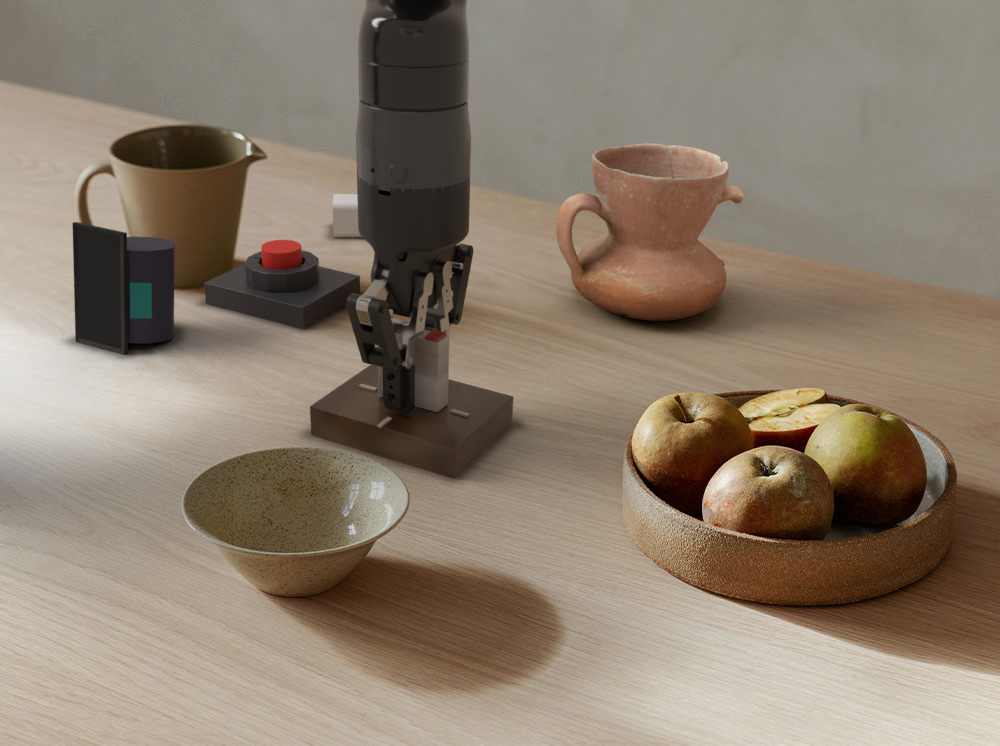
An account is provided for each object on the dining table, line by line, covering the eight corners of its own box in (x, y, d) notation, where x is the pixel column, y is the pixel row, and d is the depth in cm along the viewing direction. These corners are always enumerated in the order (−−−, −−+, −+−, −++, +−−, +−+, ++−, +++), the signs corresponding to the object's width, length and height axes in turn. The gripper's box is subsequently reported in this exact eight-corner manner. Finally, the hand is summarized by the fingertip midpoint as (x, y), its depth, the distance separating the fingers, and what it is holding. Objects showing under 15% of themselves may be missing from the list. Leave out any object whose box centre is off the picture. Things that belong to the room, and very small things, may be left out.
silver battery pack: (378, 396, 81) (377, 325, 79) (389, 388, 82) (389, 317, 80) (437, 413, 79) (438, 340, 77) (448, 403, 80) (449, 332, 78)
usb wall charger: (334, 227, 122) (333, 192, 120) (397, 227, 123) (397, 192, 121) (333, 239, 119) (332, 203, 117) (398, 239, 119) (398, 204, 118)
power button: (254, 266, 101) (252, 248, 100) (278, 254, 104) (277, 237, 103) (286, 274, 99) (285, 255, 98) (309, 262, 102) (309, 244, 101)
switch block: (205, 304, 102) (202, 264, 100) (266, 274, 109) (264, 236, 107) (303, 330, 97) (302, 288, 95) (360, 297, 104) (359, 257, 103)
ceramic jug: (697, 272, 114) (714, 135, 107) (760, 328, 101) (783, 178, 95) (529, 282, 110) (536, 140, 103) (572, 342, 97) (583, 185, 91)
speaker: (107, 362, 90) (100, 237, 86) (74, 343, 93) (66, 222, 90) (190, 345, 95) (187, 227, 91) (156, 327, 98) (152, 213, 95)
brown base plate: (310, 436, 81) (308, 404, 79) (378, 387, 88) (377, 357, 87) (453, 481, 76) (454, 447, 75) (512, 424, 83) (514, 393, 82)
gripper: (418, 137, 80) (418, 350, 88) (304, 185, 69) (315, 426, 76) (511, 152, 77) (502, 372, 85) (408, 205, 66) (408, 453, 74)
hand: (413, 396), depth 81 cm, fingers open, 3 cm apart
